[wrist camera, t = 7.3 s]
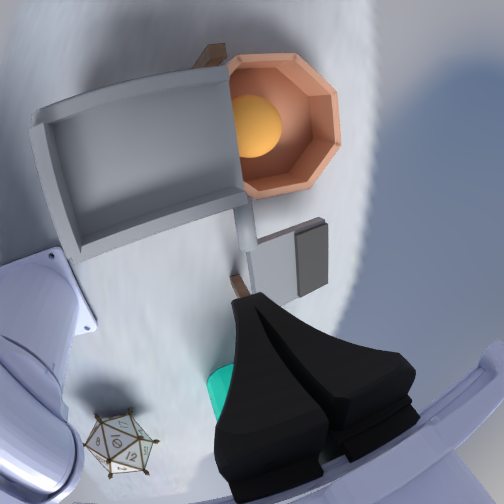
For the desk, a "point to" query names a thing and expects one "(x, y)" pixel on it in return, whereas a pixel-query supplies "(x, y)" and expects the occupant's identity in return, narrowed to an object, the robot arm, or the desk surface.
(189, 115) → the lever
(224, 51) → the lever stand
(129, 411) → the game die
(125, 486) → the desk surface
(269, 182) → the bowl
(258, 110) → the ball
